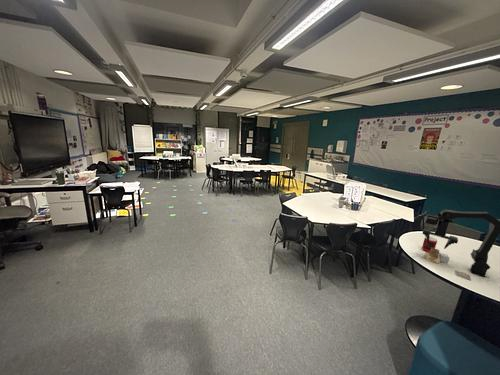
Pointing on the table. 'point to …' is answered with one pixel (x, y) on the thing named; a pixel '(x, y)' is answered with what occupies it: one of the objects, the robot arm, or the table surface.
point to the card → (463, 275)
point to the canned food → (431, 244)
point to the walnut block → (434, 252)
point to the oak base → (432, 258)
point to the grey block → (443, 258)
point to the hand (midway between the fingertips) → (436, 246)
